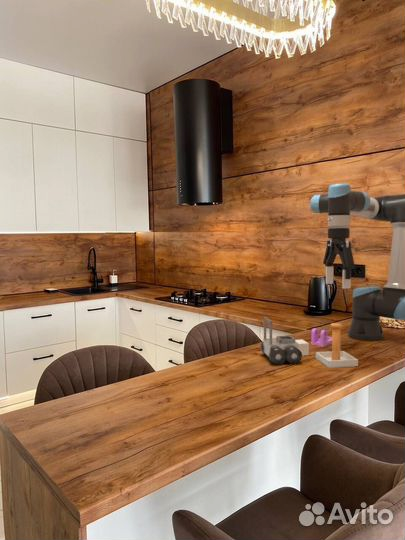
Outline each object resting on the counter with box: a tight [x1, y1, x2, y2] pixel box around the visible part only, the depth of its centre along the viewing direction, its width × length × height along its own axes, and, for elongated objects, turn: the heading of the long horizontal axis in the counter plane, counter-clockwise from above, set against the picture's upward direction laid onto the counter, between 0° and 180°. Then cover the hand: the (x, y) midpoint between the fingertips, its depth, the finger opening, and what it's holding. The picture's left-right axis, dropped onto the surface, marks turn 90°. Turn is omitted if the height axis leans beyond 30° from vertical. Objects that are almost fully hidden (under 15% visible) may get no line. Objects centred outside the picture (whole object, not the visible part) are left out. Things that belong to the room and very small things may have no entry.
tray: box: [315, 350, 359, 369], centre depth 154 cm, size 11×11×2 cm
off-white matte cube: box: [295, 338, 310, 357], centre depth 166 cm, size 6×6×5 cm
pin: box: [330, 322, 343, 361], centre depth 153 cm, size 4×4×14 cm
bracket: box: [310, 327, 332, 348], centre depth 181 cm, size 13×6×7 cm, turn 136°
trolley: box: [260, 316, 303, 366], centre depth 158 cm, size 12×14×16 cm
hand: (337, 285), depth 151 cm, fingers open, 13 cm apart
